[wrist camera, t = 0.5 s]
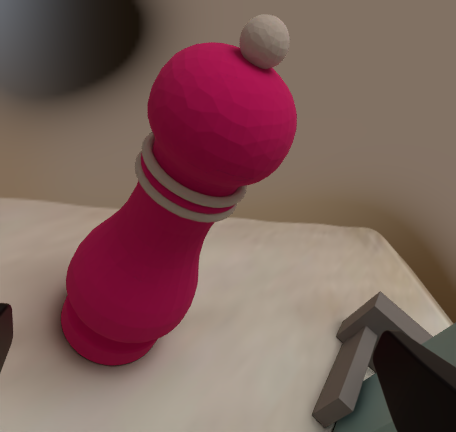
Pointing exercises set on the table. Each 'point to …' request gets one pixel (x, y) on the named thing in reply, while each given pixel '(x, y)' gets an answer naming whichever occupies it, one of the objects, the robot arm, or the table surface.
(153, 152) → the pepper mill
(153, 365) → the table surface
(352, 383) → the gray support stand
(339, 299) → the table surface
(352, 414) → the teal tall block
